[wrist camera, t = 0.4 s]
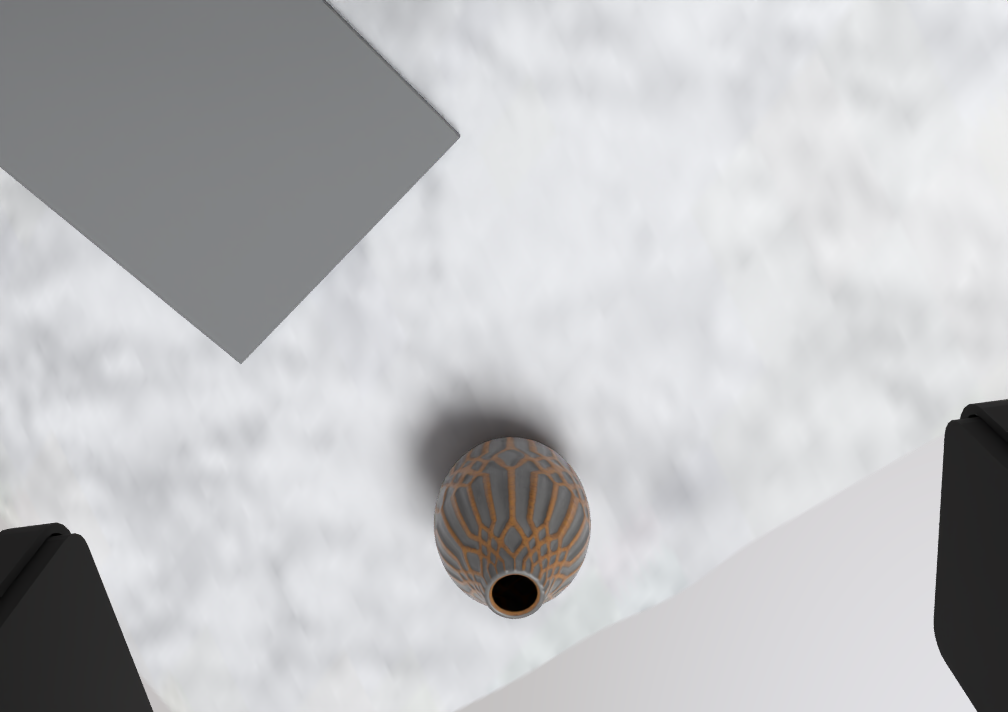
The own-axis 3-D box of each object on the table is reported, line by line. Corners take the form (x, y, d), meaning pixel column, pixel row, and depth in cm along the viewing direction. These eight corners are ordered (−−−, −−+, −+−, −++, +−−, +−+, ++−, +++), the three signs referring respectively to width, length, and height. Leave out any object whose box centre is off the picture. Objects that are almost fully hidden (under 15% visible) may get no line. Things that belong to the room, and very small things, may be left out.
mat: (92, -231, 32) (85, -235, 31) (460, 135, 37) (459, 137, 37) (-116, 62, 36) (-125, 64, 35) (244, 358, 41) (240, 364, 40)
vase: (408, 471, 43) (389, 586, 35) (521, 387, 42) (527, 487, 33) (501, 564, 45) (503, 692, 37) (611, 487, 44) (638, 603, 36)
